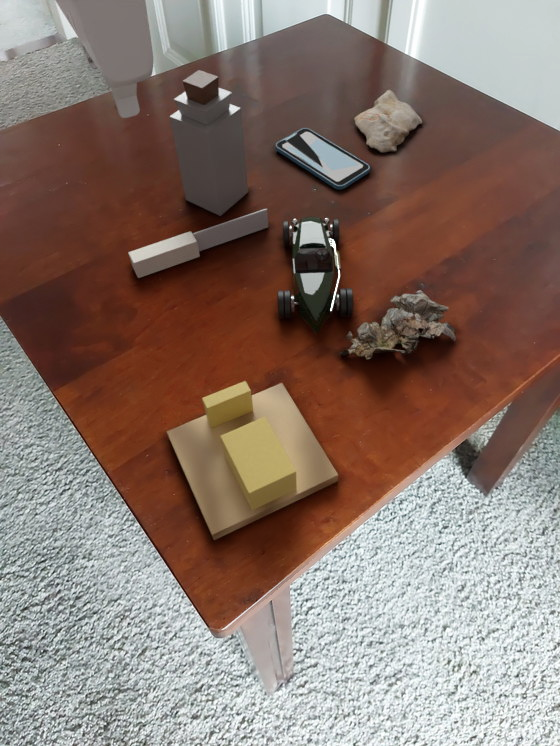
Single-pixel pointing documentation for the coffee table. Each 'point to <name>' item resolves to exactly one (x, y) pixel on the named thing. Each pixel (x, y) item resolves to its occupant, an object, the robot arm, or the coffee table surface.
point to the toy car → (314, 273)
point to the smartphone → (322, 158)
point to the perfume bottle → (209, 144)
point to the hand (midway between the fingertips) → (112, 87)
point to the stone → (387, 122)
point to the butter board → (215, 476)
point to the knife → (193, 243)
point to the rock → (401, 326)
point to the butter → (259, 462)
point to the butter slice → (228, 404)
